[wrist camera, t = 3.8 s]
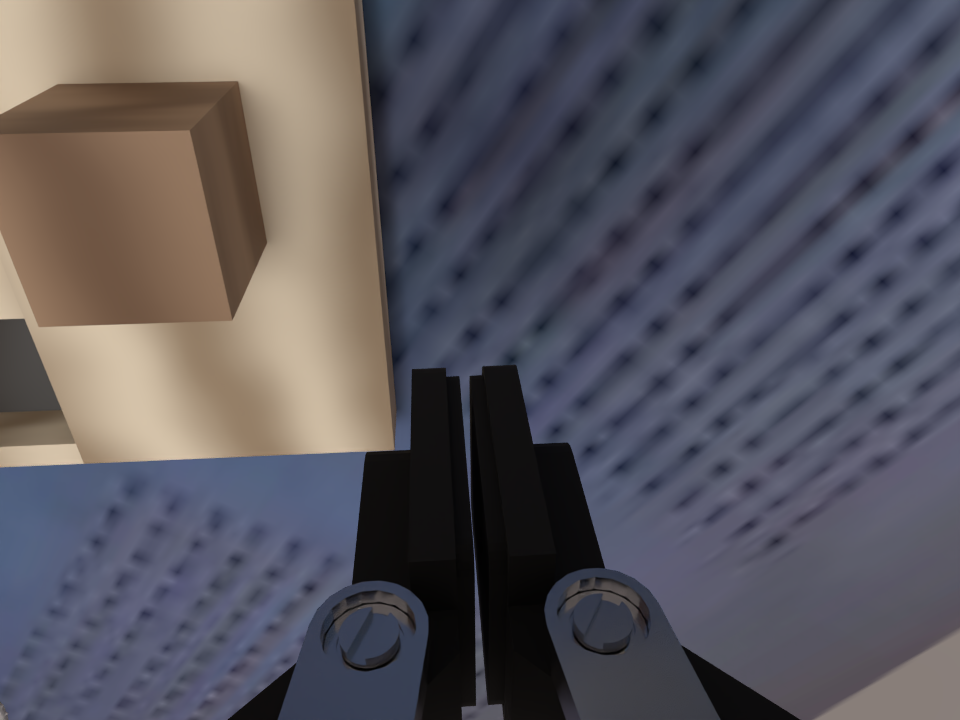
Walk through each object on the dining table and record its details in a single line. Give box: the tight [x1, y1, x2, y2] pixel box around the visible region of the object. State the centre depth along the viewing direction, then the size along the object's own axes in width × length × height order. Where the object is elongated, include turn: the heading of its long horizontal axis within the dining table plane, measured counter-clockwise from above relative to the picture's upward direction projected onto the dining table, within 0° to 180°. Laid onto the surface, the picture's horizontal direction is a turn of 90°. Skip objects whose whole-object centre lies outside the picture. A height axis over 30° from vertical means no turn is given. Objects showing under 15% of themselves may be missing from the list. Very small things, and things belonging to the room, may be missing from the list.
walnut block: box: [0, 81, 267, 327], centre depth 19 cm, size 5×5×5 cm
